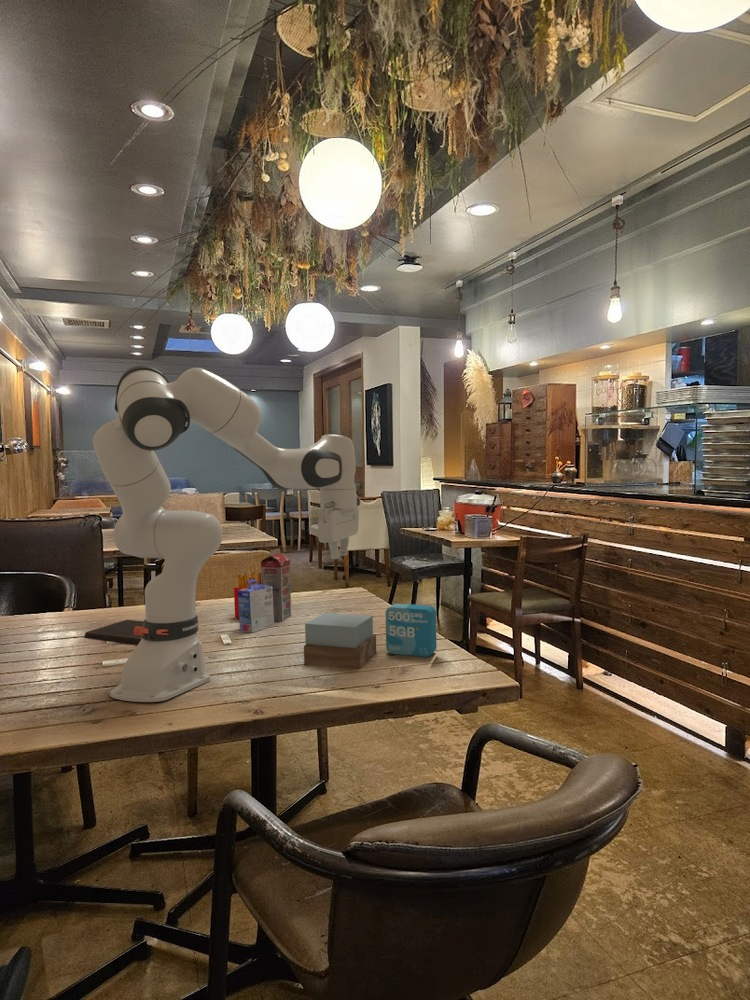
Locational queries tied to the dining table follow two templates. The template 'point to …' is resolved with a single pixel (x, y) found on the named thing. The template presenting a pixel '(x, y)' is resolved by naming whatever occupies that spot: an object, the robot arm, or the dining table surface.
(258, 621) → the ink cartridge box
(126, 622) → the hardcover book
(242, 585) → the french fries container
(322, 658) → the walnut base block
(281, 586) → the juice carton
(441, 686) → the dining table surface
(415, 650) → the data package
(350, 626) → the slate top block
